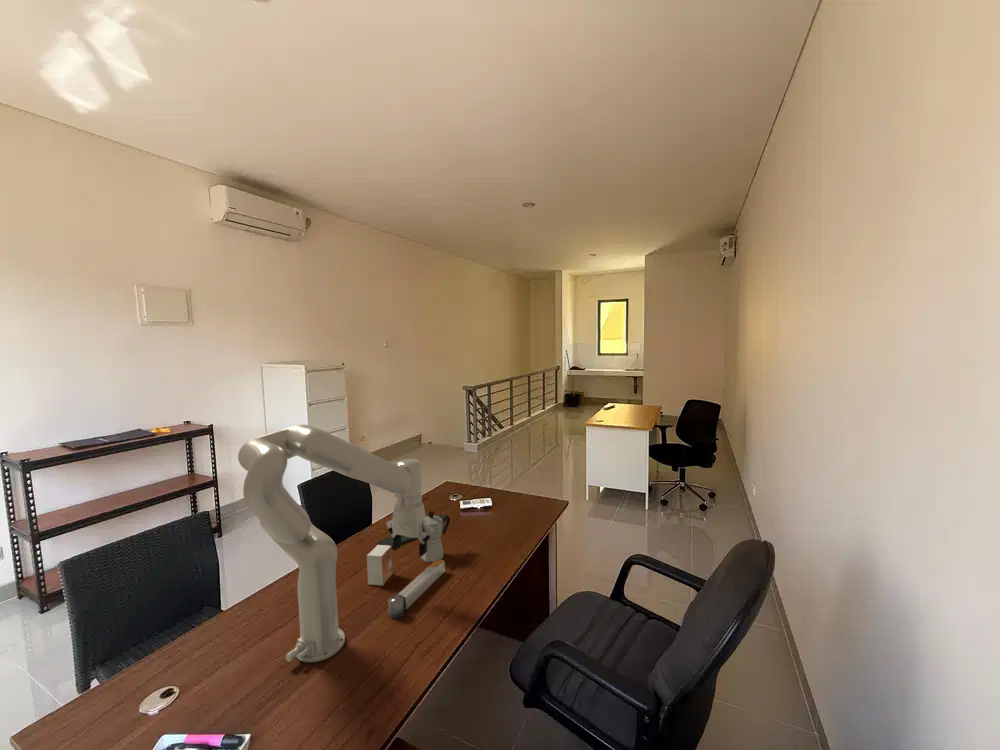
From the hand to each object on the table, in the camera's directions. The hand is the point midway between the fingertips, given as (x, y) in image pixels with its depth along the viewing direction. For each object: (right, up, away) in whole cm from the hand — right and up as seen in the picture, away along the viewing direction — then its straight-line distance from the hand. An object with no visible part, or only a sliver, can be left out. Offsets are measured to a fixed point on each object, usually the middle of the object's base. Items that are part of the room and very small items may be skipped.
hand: (410, 551), depth 137 cm
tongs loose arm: (+4, -15, +6) cm, 17 cm away
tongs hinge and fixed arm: (+2, -15, +4) cm, 16 cm away
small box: (-13, -15, +13) cm, 24 cm away
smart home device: (-12, -13, +43) cm, 47 cm away
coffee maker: (+4, -14, +29) cm, 32 cm away
